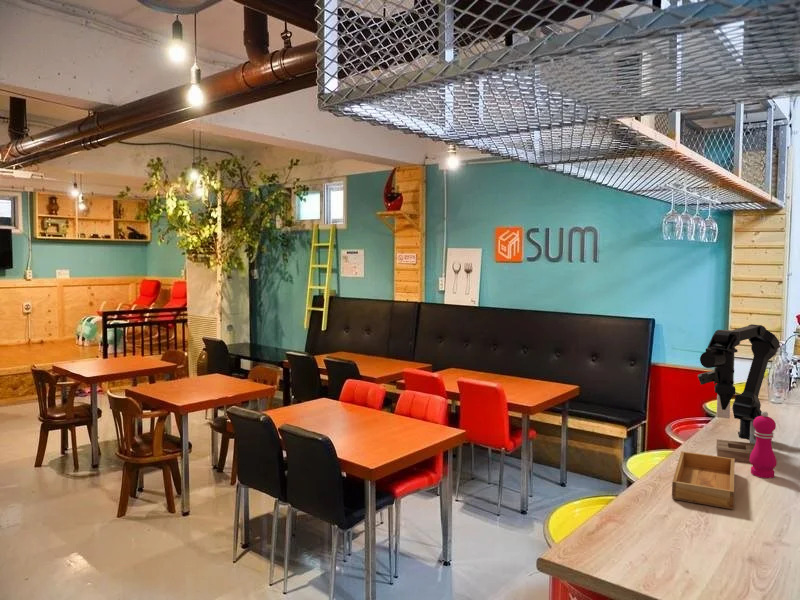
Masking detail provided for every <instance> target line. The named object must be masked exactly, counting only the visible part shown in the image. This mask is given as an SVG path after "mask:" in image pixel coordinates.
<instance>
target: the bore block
mask: <svg viewBox="0 0 800 600" xmlns="http://www.w3.org/2000/svg"><path fill="white" fill-rule="evenodd" d="M754 447H755V444H754V443H750V442H745V441H744V442H743V441H736V440H727V439H719V438H717V439H716V456H719V457H726V458H733V459H735V461H739V462H746V463H750V461H749V459H750V454H751V452H752V450H753V449H754Z"/></svg>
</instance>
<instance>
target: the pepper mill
mask: <svg viewBox="0 0 800 600" xmlns="http://www.w3.org/2000/svg"><path fill="white" fill-rule="evenodd" d="M761 415H762V416H758V417H756V418H755V419H754V421H753V426H754V428H755V429H756V430H755V434H754V435H755V436H756V444H755V447H754V449H753V450H752V452H751V454H750V459H749V461H750V462H749V463H750V464H751V467H750V474H751V475H753V476H755V477H757V478H761V479H773V478H775V474H776V473H775V470H774V469H775V468H776V467H777V465H778V464H777V463H778V462H777V457H776V454H775V452H774V450H773V445H772V439H773V438H774V431H775V430H776V429H777V428H776V427H777V425H776V421H775V420H774V419H773V417H770V416H769V414H768V411H765V410H764V411H762V413H761Z"/></svg>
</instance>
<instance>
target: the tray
mask: <svg viewBox="0 0 800 600" xmlns="http://www.w3.org/2000/svg"><path fill="white" fill-rule="evenodd" d="M677 461H678V462H677V465H676V467H675V472H674V473H673V474H674V475H673V479H672V484H671V487H672V488H671V498H672V500H675V501H676V500H677V501H683V502H689V503H695V504H700V505H706V506H712V507H717V508H722V509H723V508H724V509H727V510H734V506H735V505H734V504H735V466H736V465H735V462H736V460H735V459H733V458H726V457H719V456H717V455H712V454H704V453H696V452H689V451H683V450H682V451H680V454H679V458H678V460H677Z"/></svg>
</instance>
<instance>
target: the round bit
mask: <svg viewBox="0 0 800 600" xmlns="http://www.w3.org/2000/svg"><path fill="white" fill-rule="evenodd" d="M755 430H756V429H755V428H754V426H753V421H750V438H749V443H754V444H756V436H755V435H754V434H755Z"/></svg>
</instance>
